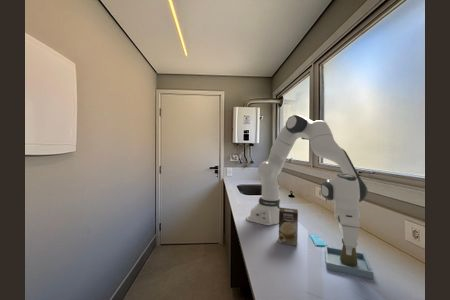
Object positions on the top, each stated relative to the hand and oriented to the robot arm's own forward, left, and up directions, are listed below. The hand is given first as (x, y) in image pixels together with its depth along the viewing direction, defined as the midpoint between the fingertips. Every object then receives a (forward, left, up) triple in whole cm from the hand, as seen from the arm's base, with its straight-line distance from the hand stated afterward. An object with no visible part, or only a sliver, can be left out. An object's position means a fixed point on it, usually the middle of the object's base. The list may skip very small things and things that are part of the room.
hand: (346, 248), depth 80 cm
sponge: (-10, +17, -7) cm, 21 cm away
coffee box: (-24, +10, -7) cm, 27 cm away
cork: (+1, +1, -5) cm, 5 cm away
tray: (0, 0, -7) cm, 6 cm away
